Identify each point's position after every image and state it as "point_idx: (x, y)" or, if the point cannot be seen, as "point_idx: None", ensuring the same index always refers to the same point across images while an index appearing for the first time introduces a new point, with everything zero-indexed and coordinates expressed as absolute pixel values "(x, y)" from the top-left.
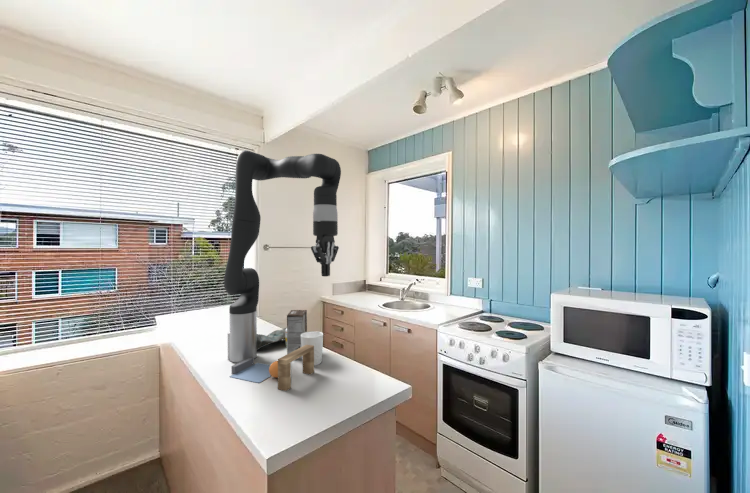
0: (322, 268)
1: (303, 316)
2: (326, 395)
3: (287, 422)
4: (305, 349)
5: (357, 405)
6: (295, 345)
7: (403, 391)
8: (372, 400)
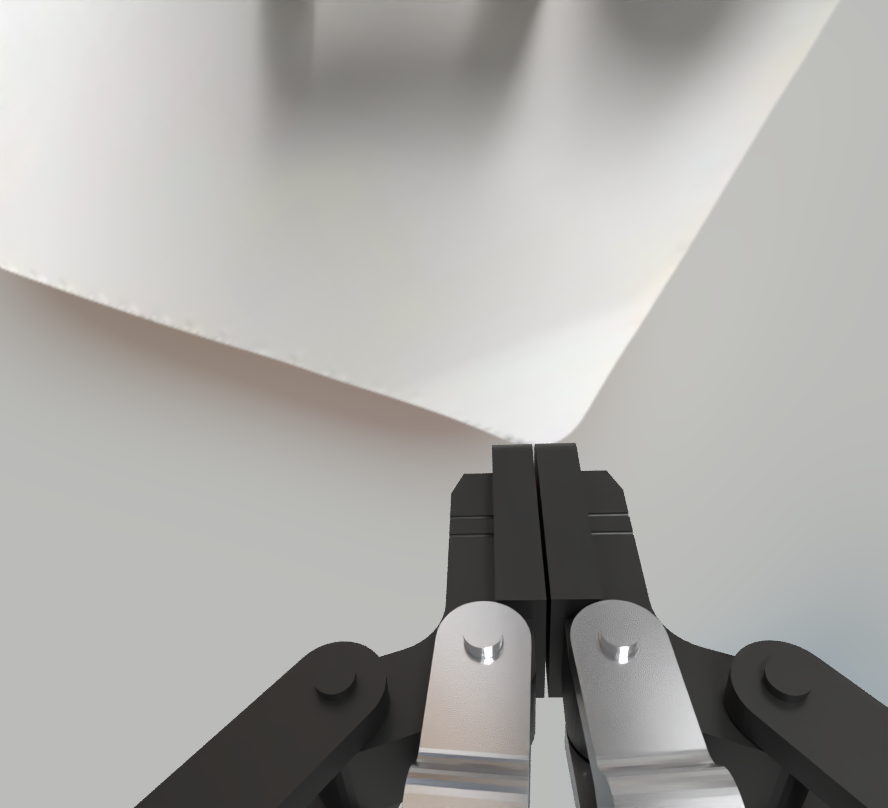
0: (447, 575)
1: None
2: (348, 199)
3: (102, 182)
4: None
5: (345, 349)
6: None
7: None
8: (405, 380)
